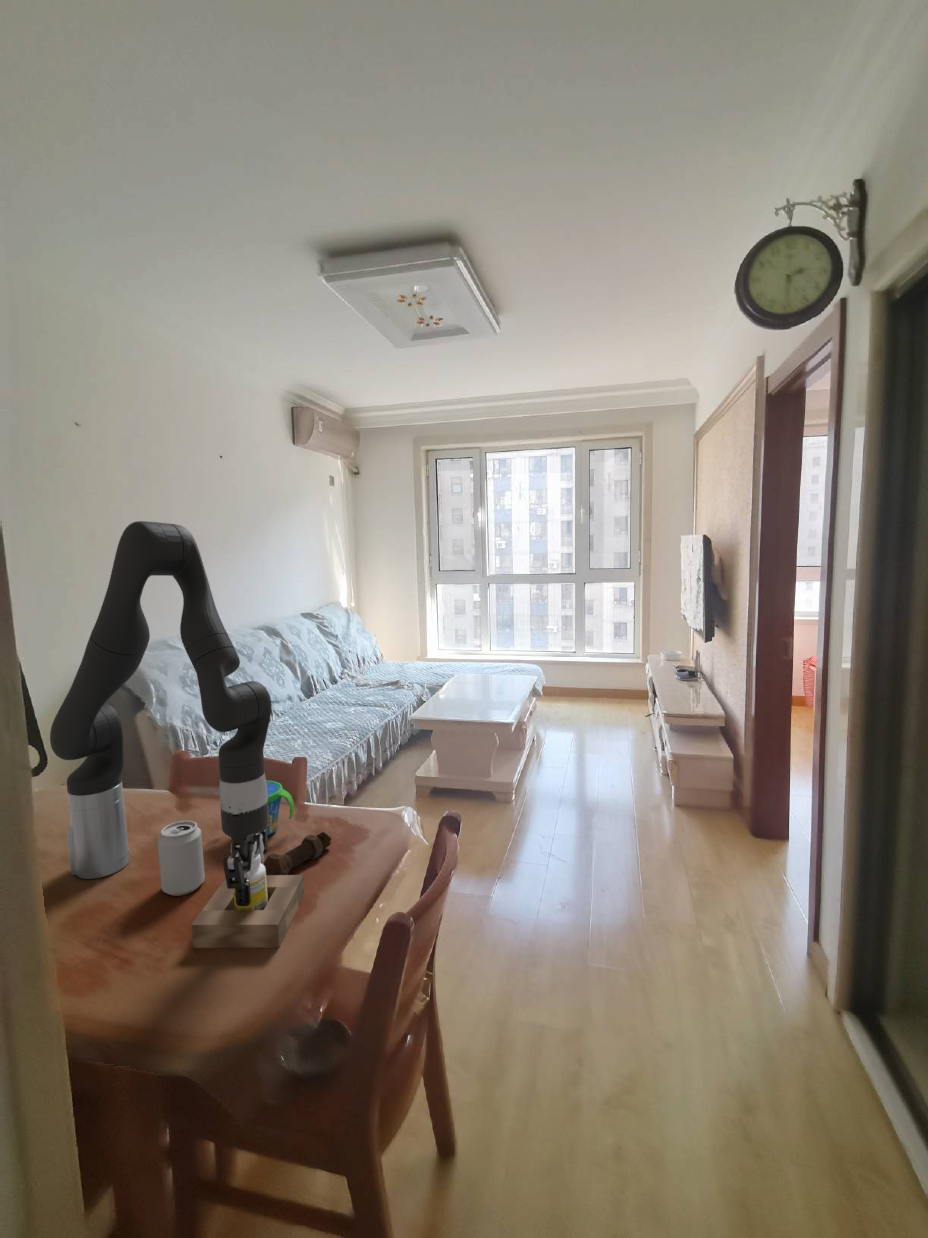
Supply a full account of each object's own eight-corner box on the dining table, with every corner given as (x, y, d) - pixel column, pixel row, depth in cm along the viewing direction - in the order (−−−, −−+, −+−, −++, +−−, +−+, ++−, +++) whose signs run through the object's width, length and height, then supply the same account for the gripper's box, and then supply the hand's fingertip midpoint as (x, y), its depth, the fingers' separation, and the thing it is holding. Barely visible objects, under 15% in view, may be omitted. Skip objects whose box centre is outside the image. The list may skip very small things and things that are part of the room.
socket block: (193, 948, 94) (191, 925, 93) (229, 895, 107) (227, 875, 107) (279, 947, 93) (277, 924, 93) (304, 895, 107) (303, 875, 107)
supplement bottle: (240, 901, 103) (236, 849, 101) (271, 899, 103) (268, 847, 102) (230, 920, 97) (226, 866, 96) (263, 918, 98) (260, 864, 97)
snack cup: (302, 822, 136) (300, 780, 134) (283, 845, 125) (280, 800, 124) (239, 819, 137) (236, 778, 136) (215, 842, 127) (212, 798, 126)
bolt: (329, 856, 124) (275, 890, 111) (314, 840, 126) (259, 871, 113) (339, 836, 122) (285, 869, 109) (323, 820, 124) (269, 850, 111)
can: (214, 879, 113) (209, 821, 111) (184, 901, 106) (178, 839, 104) (183, 872, 115) (178, 815, 114) (152, 894, 108) (146, 833, 107)
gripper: (239, 783, 105) (244, 870, 107) (202, 821, 91) (210, 921, 93) (280, 783, 105) (285, 870, 107) (250, 821, 90) (256, 921, 93)
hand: (250, 893), depth 100 cm, fingers closed on supplement bottle, 5 cm apart
